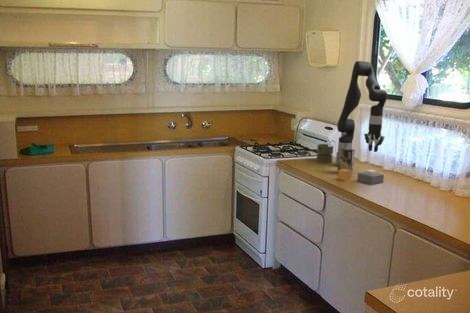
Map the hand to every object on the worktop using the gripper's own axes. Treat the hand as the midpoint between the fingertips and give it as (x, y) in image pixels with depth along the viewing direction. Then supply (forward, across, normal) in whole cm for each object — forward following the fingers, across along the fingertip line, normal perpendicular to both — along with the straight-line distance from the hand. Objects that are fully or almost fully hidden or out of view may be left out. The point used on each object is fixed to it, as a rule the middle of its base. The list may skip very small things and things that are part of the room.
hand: (372, 151), depth 295 cm
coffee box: (+19, +23, -4) cm, 30 cm away
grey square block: (+19, 0, 0) cm, 19 cm away
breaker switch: (+15, 0, 0) cm, 15 cm away
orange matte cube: (+19, +12, +10) cm, 25 cm away
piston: (+19, +56, -20) cm, 63 cm away
